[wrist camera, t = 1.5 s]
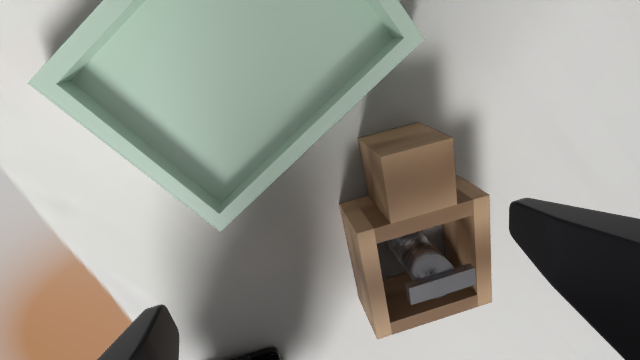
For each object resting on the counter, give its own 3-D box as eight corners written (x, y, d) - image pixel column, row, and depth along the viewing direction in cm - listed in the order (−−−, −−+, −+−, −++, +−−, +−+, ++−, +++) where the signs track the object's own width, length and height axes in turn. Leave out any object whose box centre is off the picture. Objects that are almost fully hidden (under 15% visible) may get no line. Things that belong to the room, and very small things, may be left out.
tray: (222, 216, 22) (220, 232, 20) (49, 78, 18) (27, 83, 16) (408, 39, 20) (424, 39, 19) (269, -160, 16) (272, -186, 14)
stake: (431, 244, 26) (476, 292, 21) (379, 259, 26) (412, 313, 20) (428, 215, 25) (474, 259, 20) (374, 231, 25) (407, 279, 20)
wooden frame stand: (458, 267, 27) (491, 302, 24) (358, 298, 26) (377, 339, 23) (448, 114, 23) (487, 128, 19) (327, 146, 22) (343, 167, 18)
